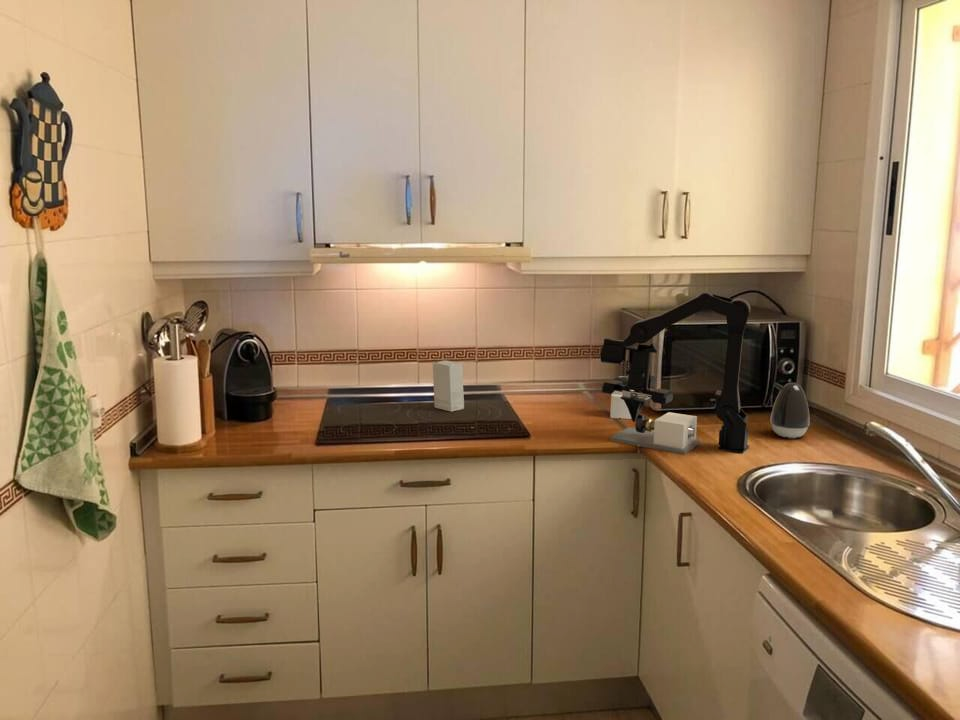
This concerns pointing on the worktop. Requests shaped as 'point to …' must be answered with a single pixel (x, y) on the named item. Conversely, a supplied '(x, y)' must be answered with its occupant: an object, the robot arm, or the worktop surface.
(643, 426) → the metal shaft
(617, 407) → the medicine bottle
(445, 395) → the skincare box
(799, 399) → the dark grey egg shape
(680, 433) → the bearing block
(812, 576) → the worktop surface
